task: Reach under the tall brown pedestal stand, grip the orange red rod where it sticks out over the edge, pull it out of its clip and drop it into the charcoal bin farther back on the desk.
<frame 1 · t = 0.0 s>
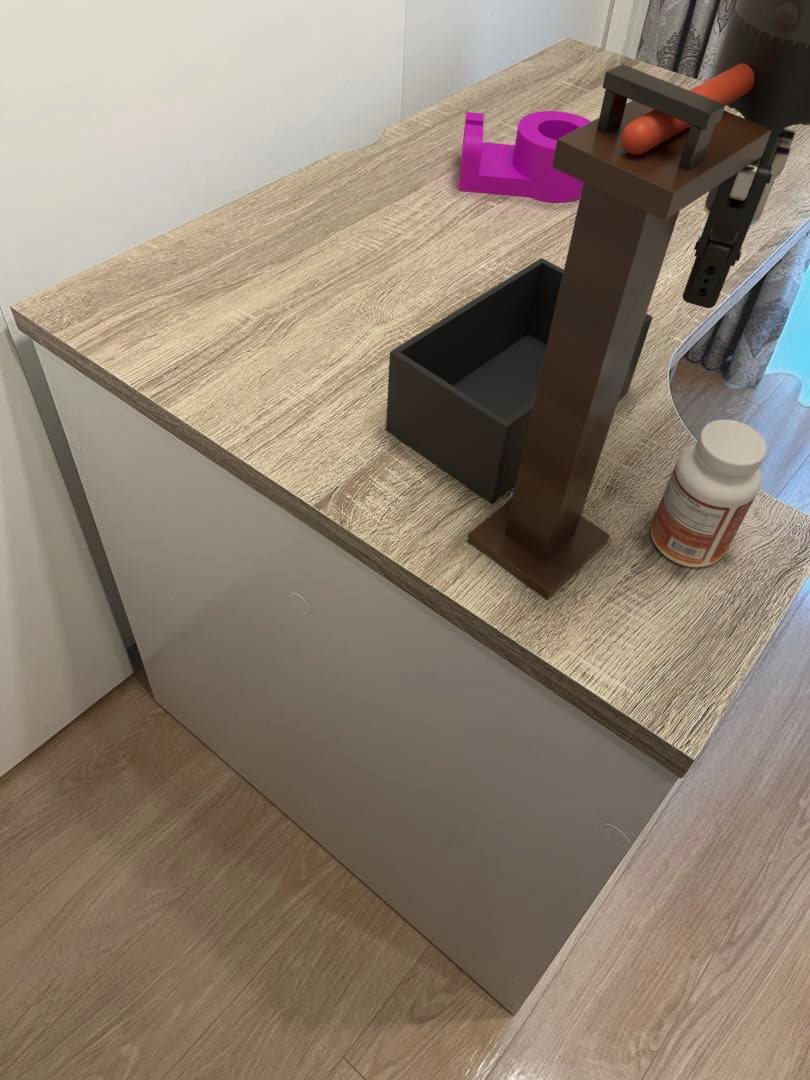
hand: (709, 270, 60), 19 cm above the table, tool pointing down, fingers open, 8 cm apart
bin: (510, 410, 79), on the table
tape dispenser: (524, 180, 106), on the table
brown pedestal stand: (559, 522, 70), on the table
pill bottle: (685, 541, 70), on the table
orange red rod: (710, 109, 47), point 32 cm above the table, touching brown pedestal stand
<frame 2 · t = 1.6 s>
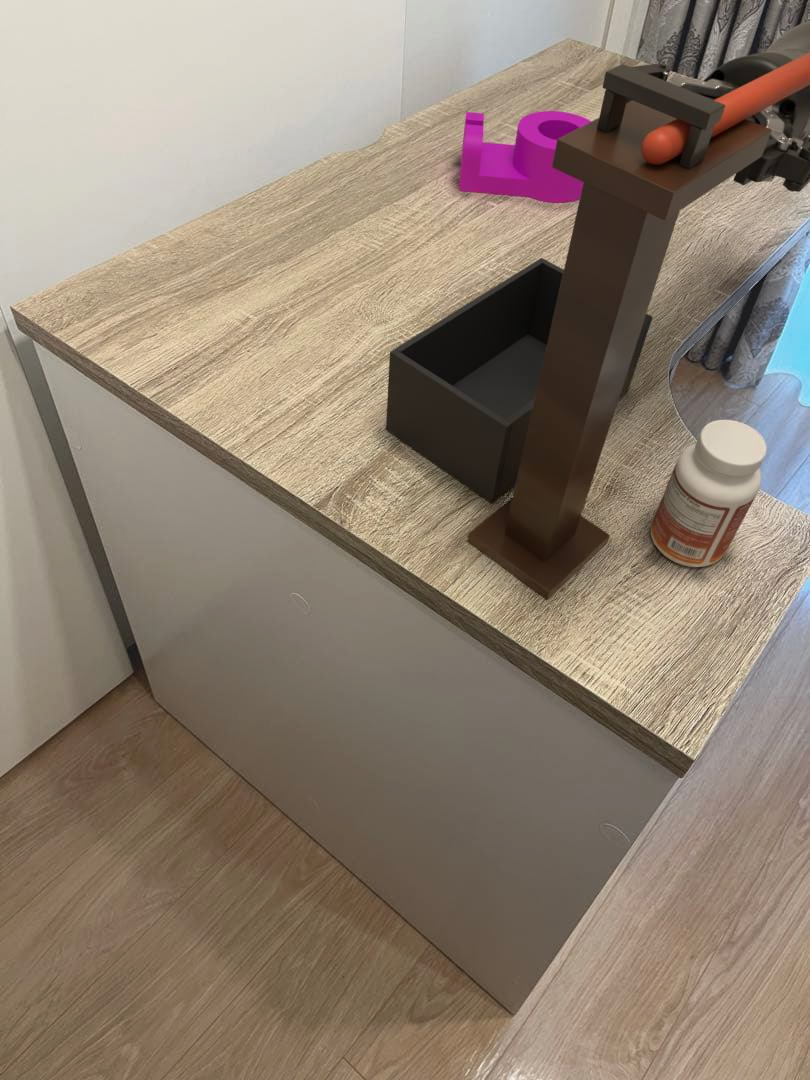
hand: (684, 138, 54), 28 cm above the table, tool horizontal, fingers open, 8 cm apart
orange red rod: (731, 92, 46), point 33 cm above the table, tilted 120°, touching brown pedestal stand
everything else where it was.
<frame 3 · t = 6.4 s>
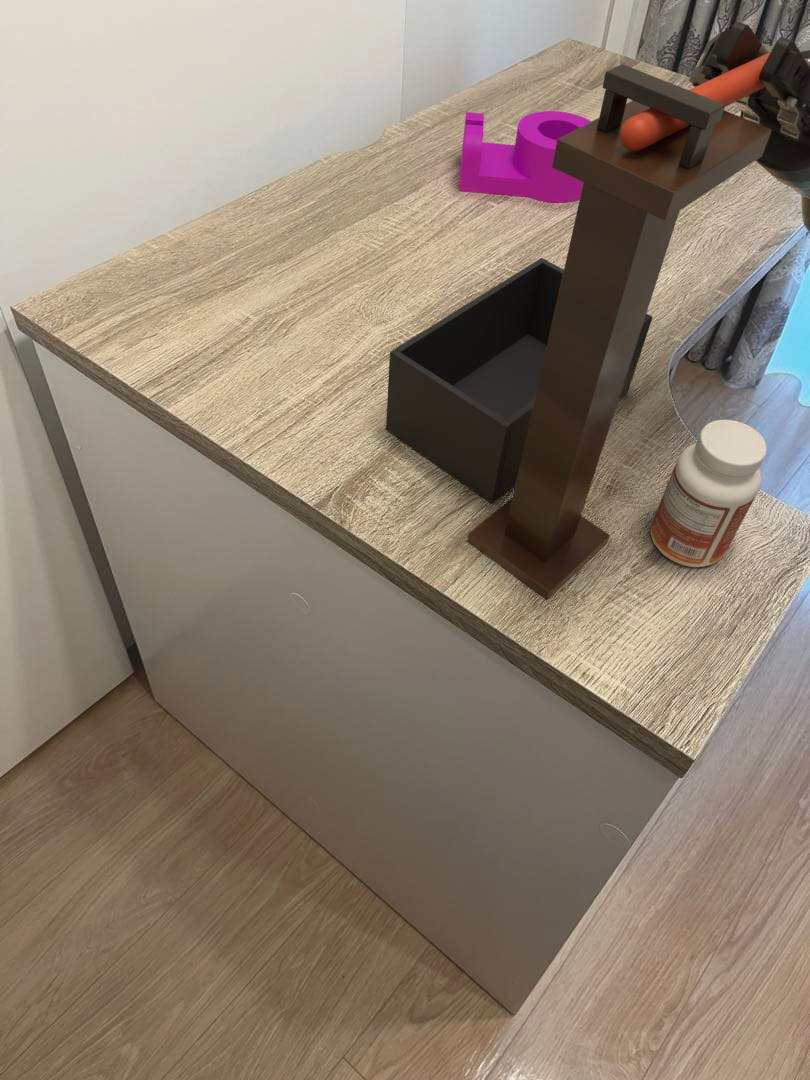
hand: (752, 50, 47), 34 cm above the table, tool pointing upward, fingers closed
orange red rod: (709, 107, 47), point 32 cm above the table, tilted 12°, touching gripper, brown pedestal stand
everything else where it was.
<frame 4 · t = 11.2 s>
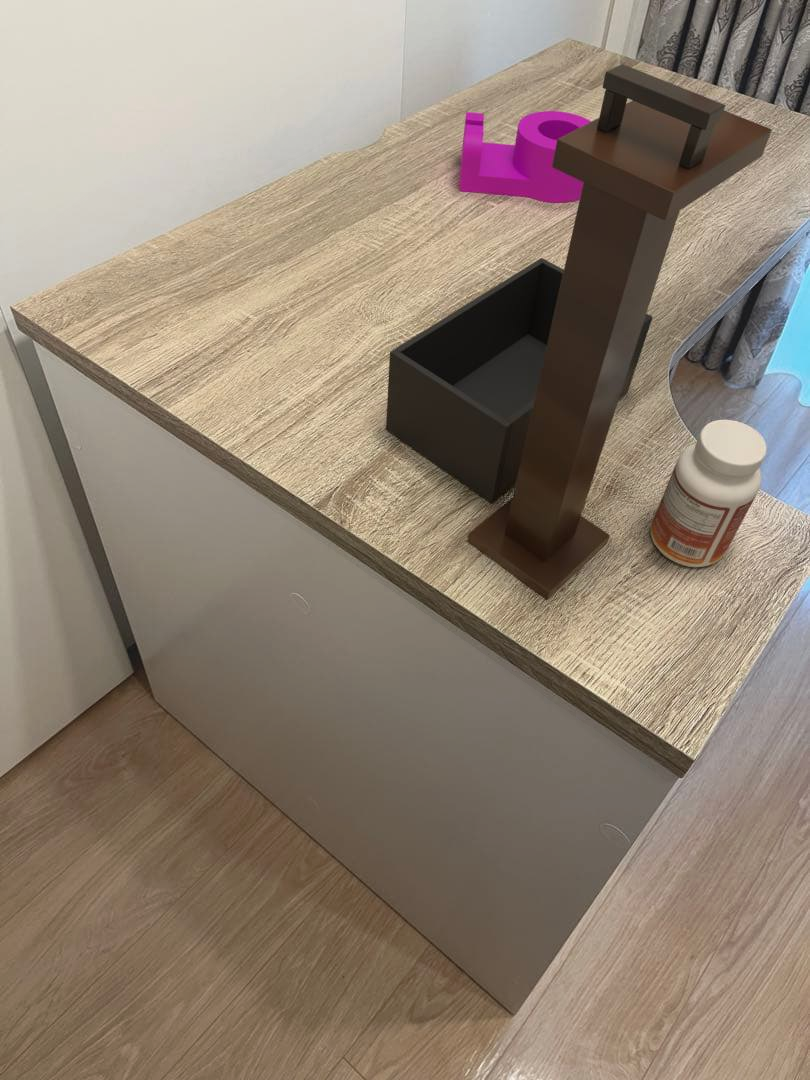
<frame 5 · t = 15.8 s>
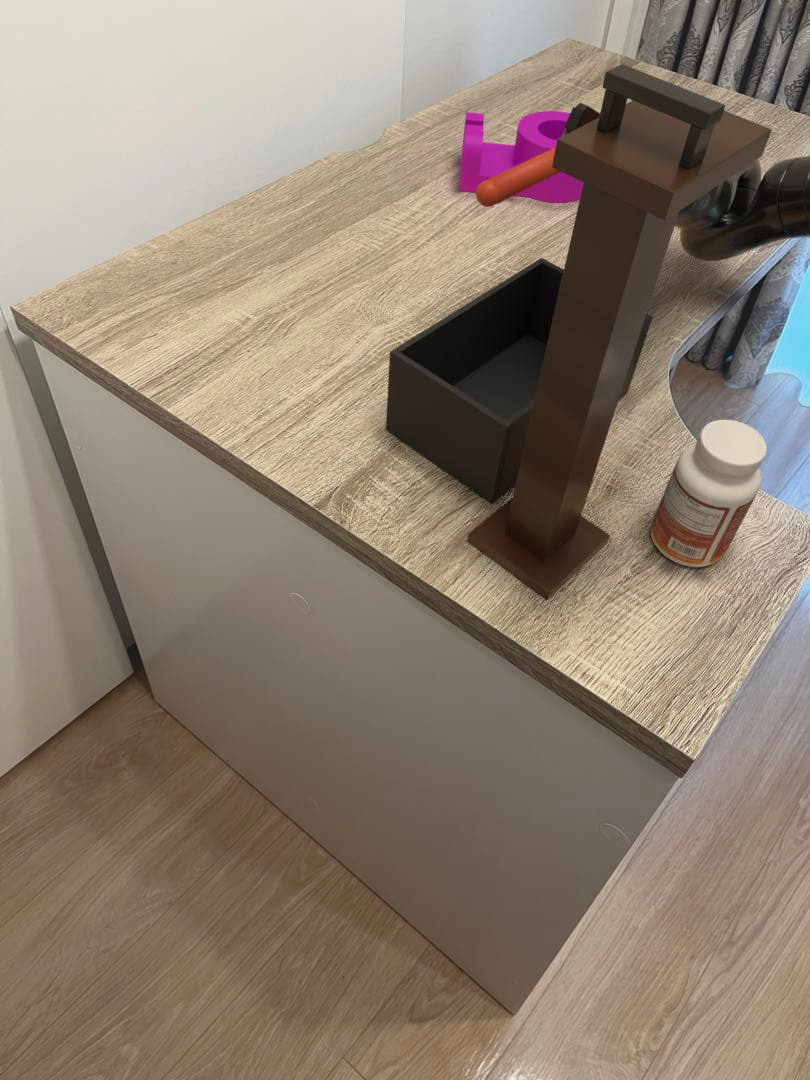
hand: (588, 125, 60), 25 cm above the table, tool pointing upward, fingers closed on orange red rod, 1 cm apart
orange red rod: (557, 170, 60), point 23 cm above the table, touching gripper
everything else where it was.
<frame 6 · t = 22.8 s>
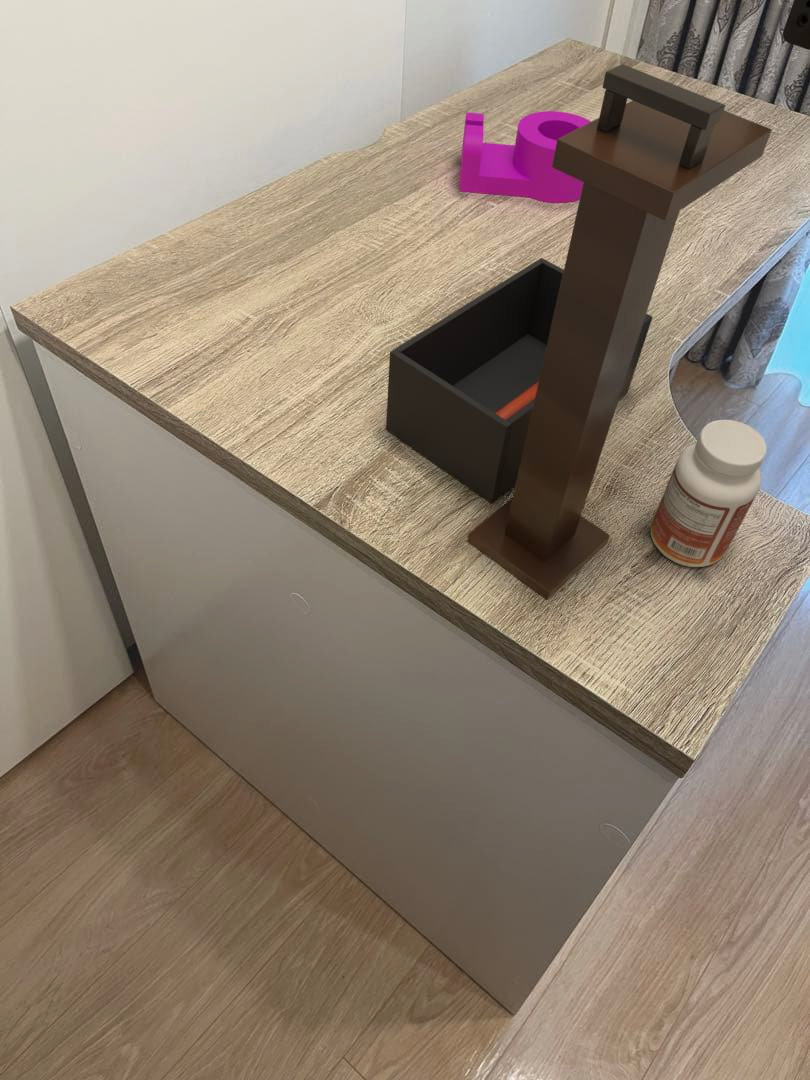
orange red rod: (510, 412, 77), point 1 cm above the table, tilted 34°, touching bin
everything else where it was.
at the end: orange red rod inside the target area in the bin (1.0 cm from its centre), point 0.7 cm above the bin's base; the gripper is holding nothing; orange red rod moved 33.2 cm from its start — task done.
